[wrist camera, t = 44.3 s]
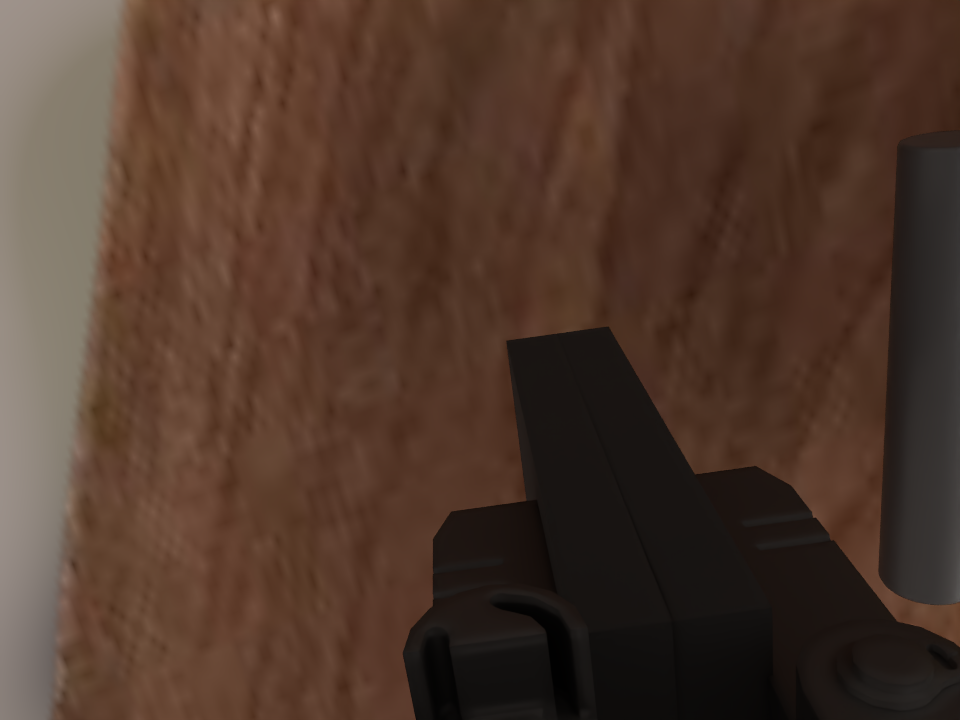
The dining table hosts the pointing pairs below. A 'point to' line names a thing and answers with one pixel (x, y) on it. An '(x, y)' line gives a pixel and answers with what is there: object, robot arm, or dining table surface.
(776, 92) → the dining table surface
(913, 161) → the drawer
